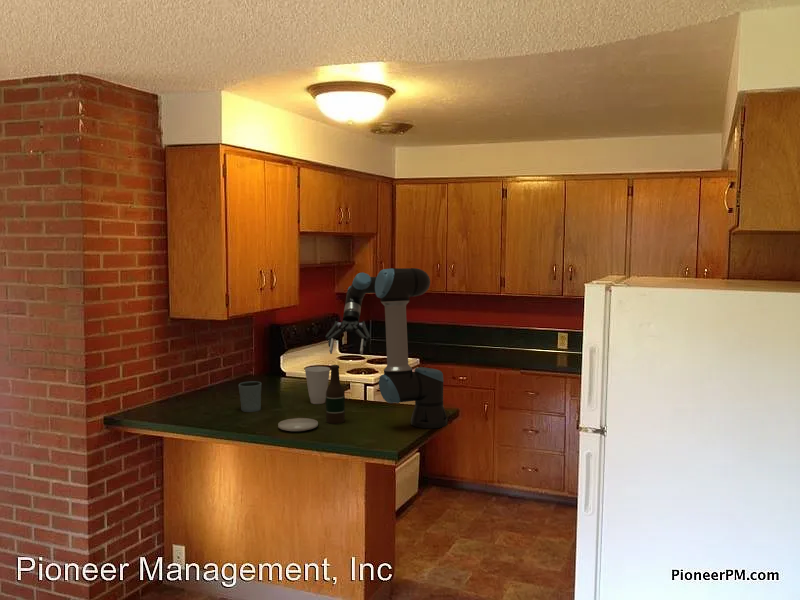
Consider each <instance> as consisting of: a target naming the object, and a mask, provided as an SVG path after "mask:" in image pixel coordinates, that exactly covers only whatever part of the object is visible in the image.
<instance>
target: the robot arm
mask: <svg viewBox="0 0 800 600" xmlns="http://www.w3.org/2000/svg"><path fill="white" fill-rule="evenodd" d="M430 286H431V279H430V276H429V274H428V273H427V272H426V271H424V270H423V269H420V268H418V267H417V268H415V267H411V268H409V267H408V268H407V267H406V268H400V267H399V268H398V267H397V268H384V269H381V270H380V271H379V272H378V274H377V276H370V274H368V273H365V272H359V273H357V274H356V275H355V276H354V277H353V280H352V283H351V285H349V286H348V288H347V291H346V297H345V304H344V309H343V315H342V321H341V322H339V321H338V320H335V321H334V324H333V326H332V327H331V328H330V330H329V331H328V332H327V333H326V335H325V340H326V341H328V347H329V349H328V350H329V354H330V355H331V354H333V350H334V345H335V340H336V339H337V338H338V337H339V336H341V335H342V334H344V333H345V332H346V333H354V332H355V334H357V335H358V337H359V338H360V339H361V342H360V349H359V353H360V355H363V352H364V348H366V347H367V342H371V341H372V338H371V335H370V332H369V330H368V329H367V326H366V322H365V321H364V320H363V321H362V322H360V316H361V309H362V304H363V299H364V297H365V296H366V294H375V296H376V297H377V298H379V299H380V303H381V304H382V305H383V306H384V317H385V318H384V319H385V340H386V341H385V343H386V347H385V348H386V364H387V365H386V367H384V369H383V374H381V375H380V376H379V377H378V378H379V379H378V387H379V392H380V395H381V397H382V399H383V400H384V401H385V402H386V403H388V404H399V403H406V402H407V403H408V402H414V408H413V411H412V414H411V418H410V424H411V426H413V427H416V428H420V429H439V428H444V427H446V426H447V425H448V416H447V413H446V411H445V407H444V382H445V381H444V374H443V372H442V371H441V370H439V369H436V368H431V367H430V368H429V367H422V366H421V367H418V366H417V367H415V368H414V371H413V367H411V366H410V365H409V349H408V347H409V346H408V343H409V342H408V325H407V322H408V321H407V305H408V303H410V297H418V296H422V295H424V294H425V293H426V292H427V291H428V290H429V289H430ZM359 327H360V328H362V329H363V330H360V329H359ZM362 331H363V332H364V333H363V332H362Z"/></svg>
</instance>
